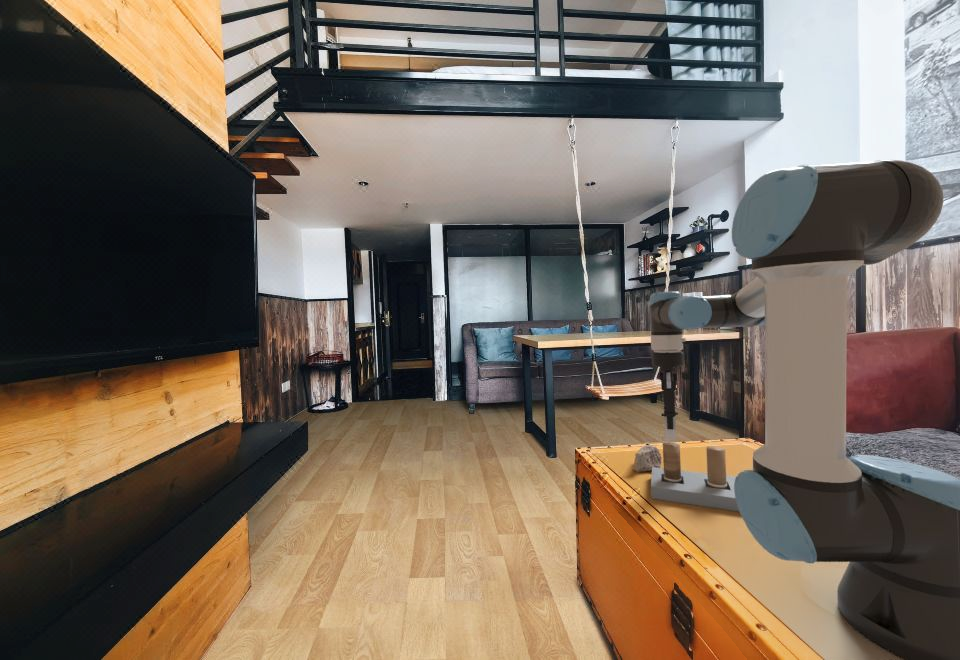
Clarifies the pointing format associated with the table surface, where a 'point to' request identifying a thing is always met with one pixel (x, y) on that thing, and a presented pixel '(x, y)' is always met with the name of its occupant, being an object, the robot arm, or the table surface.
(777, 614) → the table surface
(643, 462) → the mineral specimen
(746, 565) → the table surface
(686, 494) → the board
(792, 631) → the table surface
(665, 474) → the dowel
